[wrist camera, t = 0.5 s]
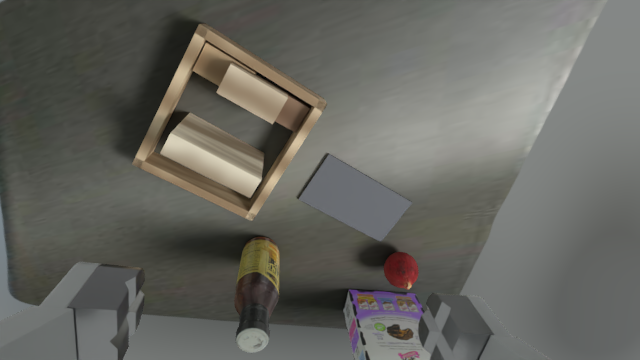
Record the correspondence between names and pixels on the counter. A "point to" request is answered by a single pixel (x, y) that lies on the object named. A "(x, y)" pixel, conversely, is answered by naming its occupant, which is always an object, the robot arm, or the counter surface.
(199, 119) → the pale wooden block
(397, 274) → the onion
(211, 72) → the offcut oak
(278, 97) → the offcut beech
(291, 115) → the offcut walnut
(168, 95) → the wooden tray
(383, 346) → the candy box
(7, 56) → the counter surface
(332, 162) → the felt pad
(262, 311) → the sauce bottle
